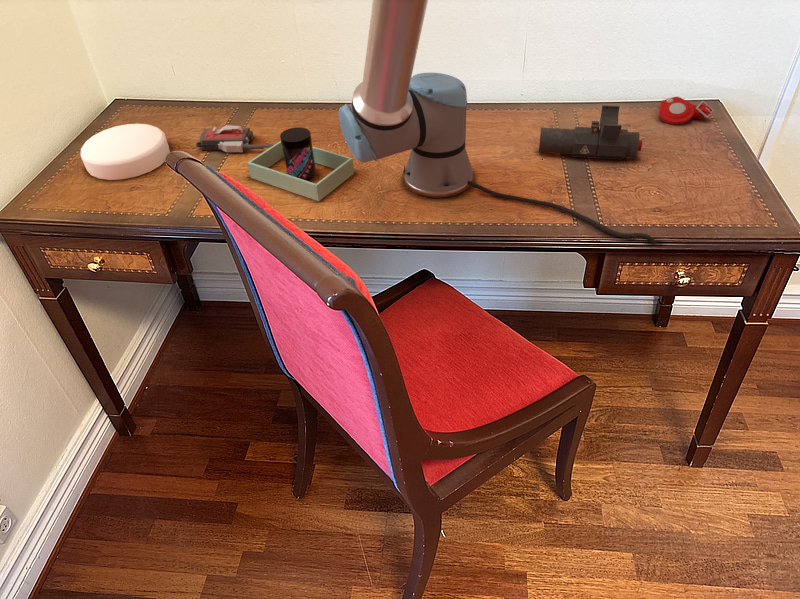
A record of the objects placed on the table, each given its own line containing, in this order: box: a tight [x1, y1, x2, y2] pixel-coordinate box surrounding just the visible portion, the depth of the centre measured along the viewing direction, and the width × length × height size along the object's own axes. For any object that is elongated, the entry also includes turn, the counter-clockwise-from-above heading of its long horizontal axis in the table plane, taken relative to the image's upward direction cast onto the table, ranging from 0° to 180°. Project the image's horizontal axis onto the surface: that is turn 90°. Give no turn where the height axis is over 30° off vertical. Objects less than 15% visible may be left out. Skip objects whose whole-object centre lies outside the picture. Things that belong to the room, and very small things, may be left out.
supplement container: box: [279, 126, 317, 182], centre depth 141 cm, size 7×7×10 cm
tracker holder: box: [658, 96, 715, 126], centre depth 156 cm, size 12×4×10 cm
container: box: [80, 123, 171, 181], centre depth 153 cm, size 20×20×5 cm
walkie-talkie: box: [195, 124, 274, 153], centre depth 155 cm, size 9×4×20 cm
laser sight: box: [538, 104, 643, 161], centre depth 142 cm, size 10×22×10 cm, turn 78°
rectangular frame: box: [246, 140, 355, 202], centre depth 143 cm, size 20×13×4 cm, turn 57°
